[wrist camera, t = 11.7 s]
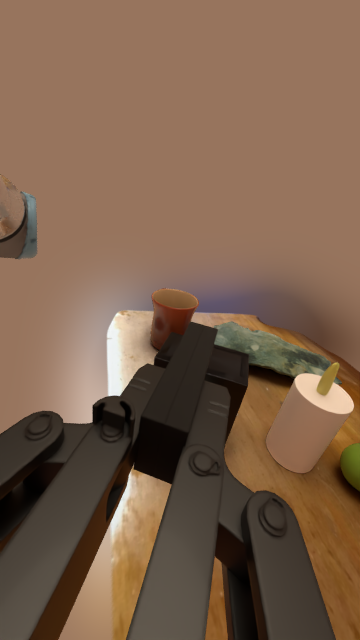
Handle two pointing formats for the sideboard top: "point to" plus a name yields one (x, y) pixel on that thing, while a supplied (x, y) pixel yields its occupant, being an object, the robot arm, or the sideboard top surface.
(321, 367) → the decorative stone
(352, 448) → the snail figurine
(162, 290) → the mug
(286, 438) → the candle
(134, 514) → the sideboard top surface
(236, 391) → the control box
